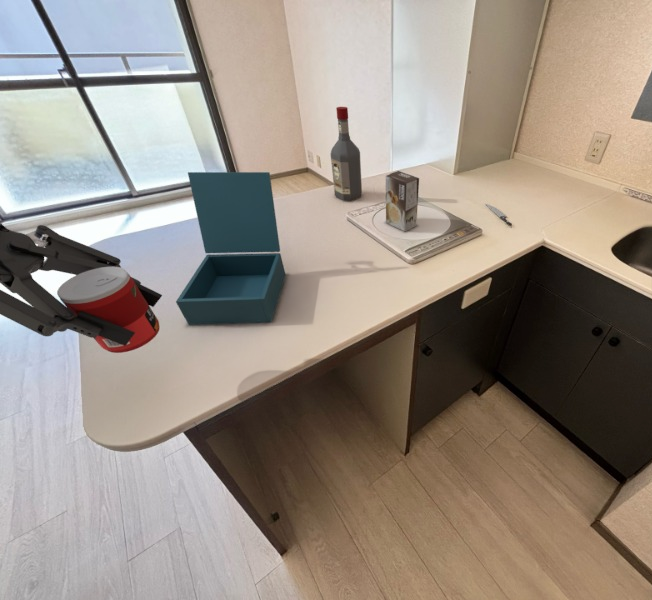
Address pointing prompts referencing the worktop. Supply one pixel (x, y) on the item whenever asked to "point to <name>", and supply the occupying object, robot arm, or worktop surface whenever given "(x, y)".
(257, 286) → the cool box
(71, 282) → the canned food
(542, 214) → the worktop surface
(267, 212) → the cooler lid
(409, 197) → the coffee box
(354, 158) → the liquor
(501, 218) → the chef's knife
